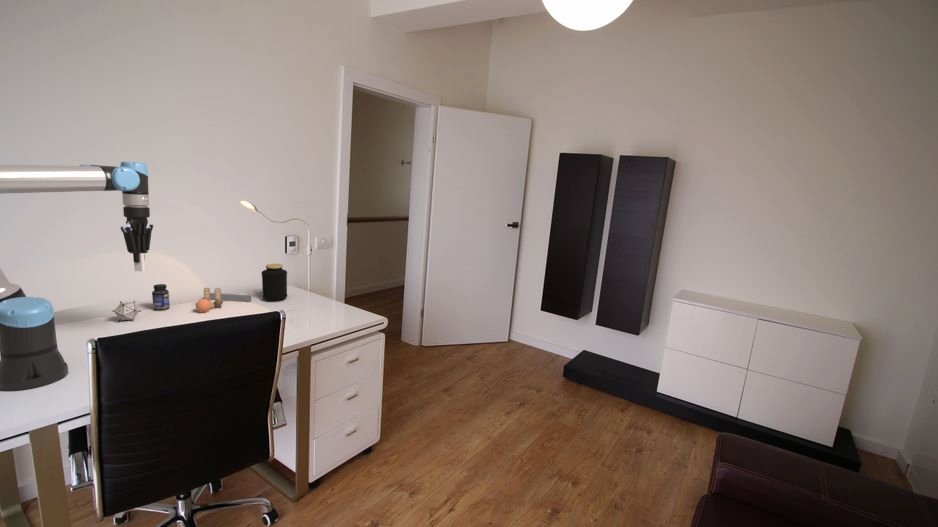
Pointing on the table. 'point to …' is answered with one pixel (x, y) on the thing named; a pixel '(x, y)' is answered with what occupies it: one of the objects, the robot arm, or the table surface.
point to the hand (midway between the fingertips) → (139, 270)
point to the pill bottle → (160, 297)
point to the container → (274, 282)
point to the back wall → (232, 297)
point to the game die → (126, 311)
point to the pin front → (214, 304)
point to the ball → (203, 305)
